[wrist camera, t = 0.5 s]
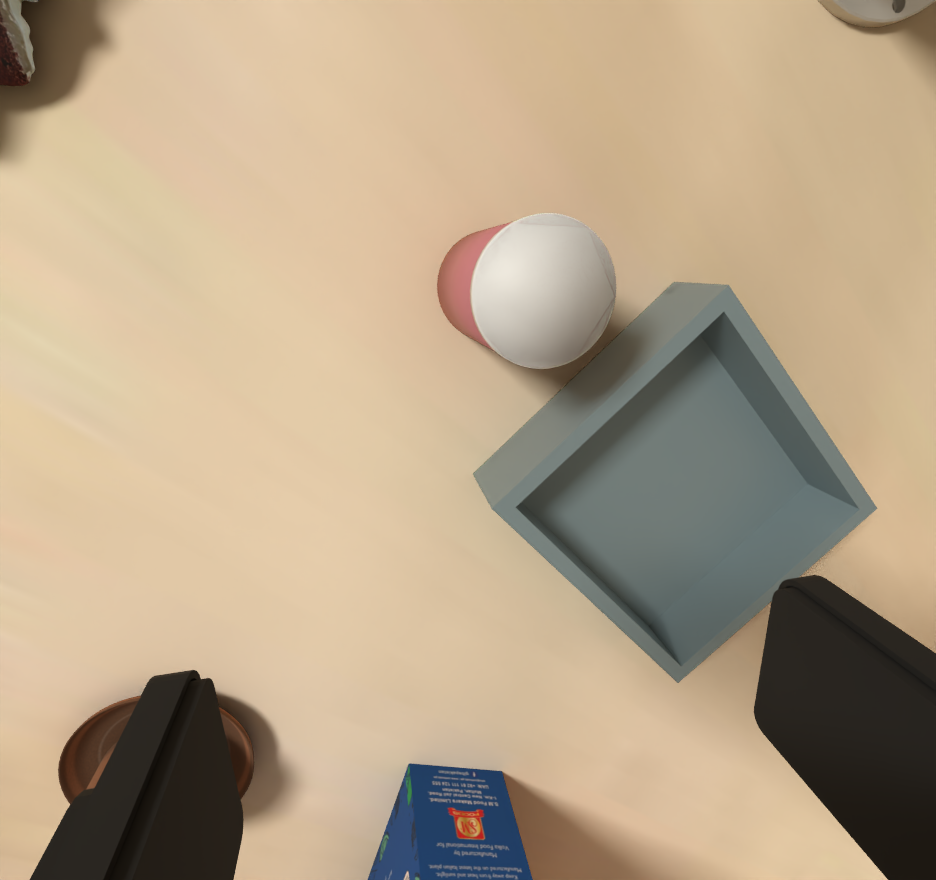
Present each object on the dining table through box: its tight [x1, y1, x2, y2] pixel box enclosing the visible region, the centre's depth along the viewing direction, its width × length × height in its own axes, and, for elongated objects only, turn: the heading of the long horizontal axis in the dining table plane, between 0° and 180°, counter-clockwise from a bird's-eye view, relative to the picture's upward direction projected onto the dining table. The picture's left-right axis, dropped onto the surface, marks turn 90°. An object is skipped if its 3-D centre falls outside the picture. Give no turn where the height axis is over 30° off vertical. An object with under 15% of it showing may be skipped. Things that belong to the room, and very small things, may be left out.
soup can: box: [437, 213, 616, 369], centre depth 28 cm, size 6×6×10 cm
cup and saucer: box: [58, 696, 254, 804], centre depth 36 cm, size 12×12×6 cm
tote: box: [473, 282, 877, 683], centre depth 37 cm, size 18×20×6 cm
